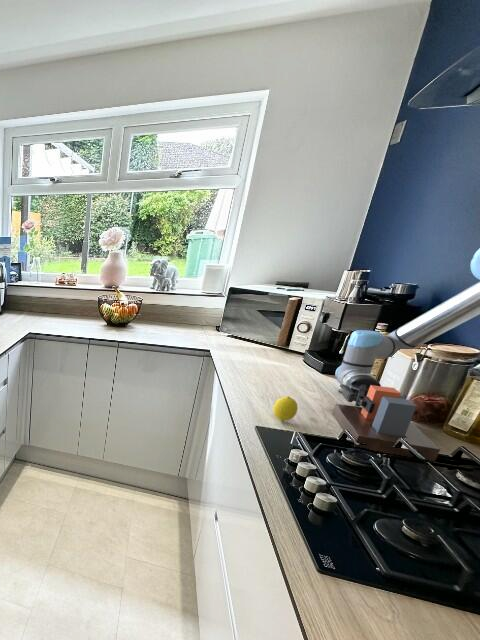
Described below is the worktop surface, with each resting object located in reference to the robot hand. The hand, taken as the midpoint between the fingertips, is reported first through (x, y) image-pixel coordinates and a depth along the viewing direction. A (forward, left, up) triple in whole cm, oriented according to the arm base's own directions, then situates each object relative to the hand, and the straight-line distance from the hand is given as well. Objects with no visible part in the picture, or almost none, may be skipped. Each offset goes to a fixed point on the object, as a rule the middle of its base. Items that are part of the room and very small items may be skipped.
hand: (386, 410), depth 108 cm
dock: (0, 0, -7) cm, 7 cm away
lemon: (+18, +12, -8) cm, 23 cm away
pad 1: (+3, -5, -7) cm, 9 cm away
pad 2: (-2, +4, -7) cm, 9 cm away
